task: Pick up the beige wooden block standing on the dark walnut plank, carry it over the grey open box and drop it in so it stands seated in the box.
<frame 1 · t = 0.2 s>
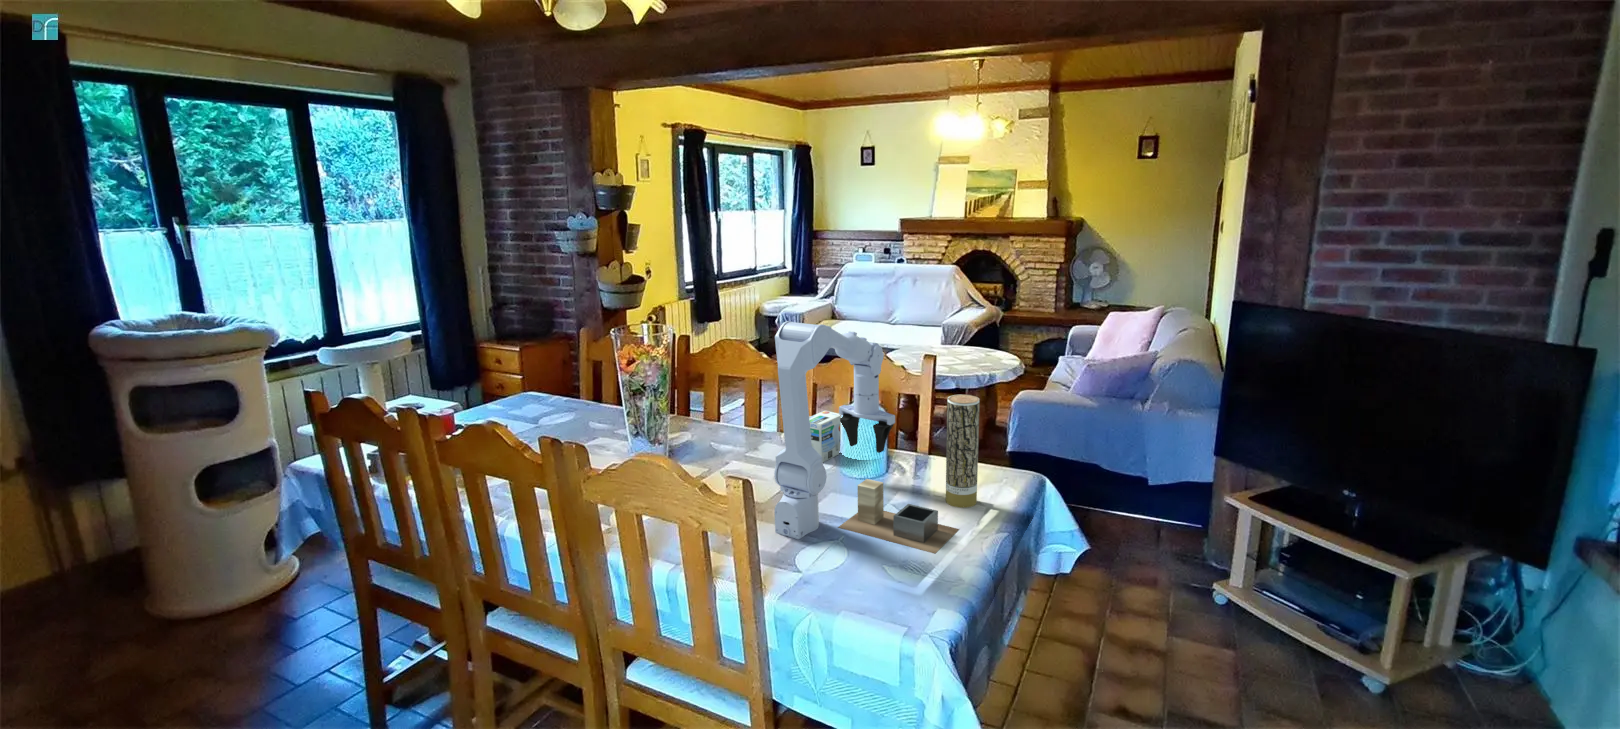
hand: (866, 448, 175), 10 cm above the table, tool pointing down, fingers open, 7 cm apart
light bulb box: (823, 455, 200), on the table
beige wooden block: (870, 518, 159), point 1 cm above the table, touching plank
plank: (898, 533, 154), on the table
grey open box: (915, 538, 152), resting on plank
paper tube: (960, 506, 166), on the table
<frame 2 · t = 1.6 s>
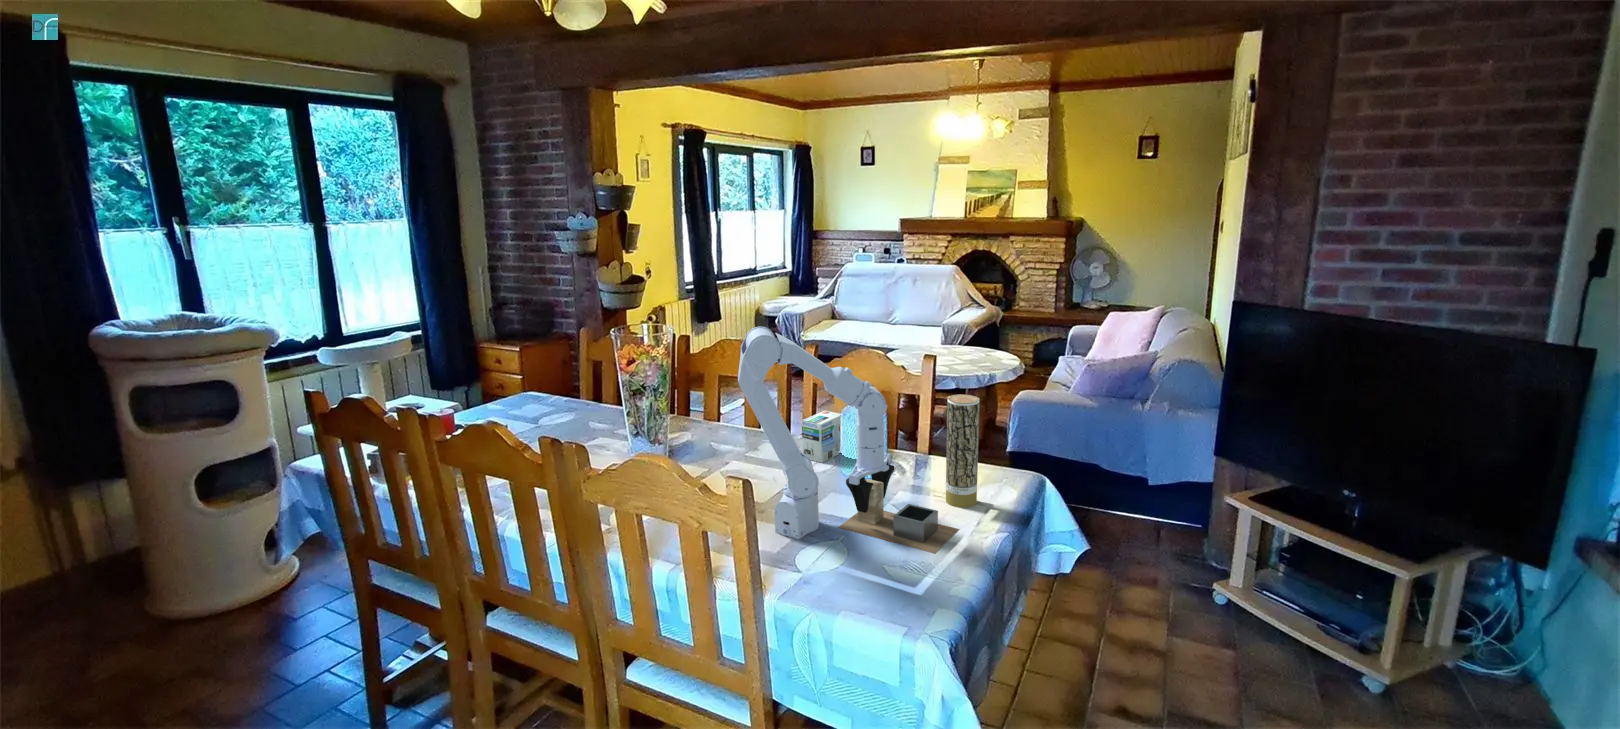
hand: (871, 504, 158), 5 cm above the table, tool pointing down, fingers open, 7 cm apart
nothing on the table moved.
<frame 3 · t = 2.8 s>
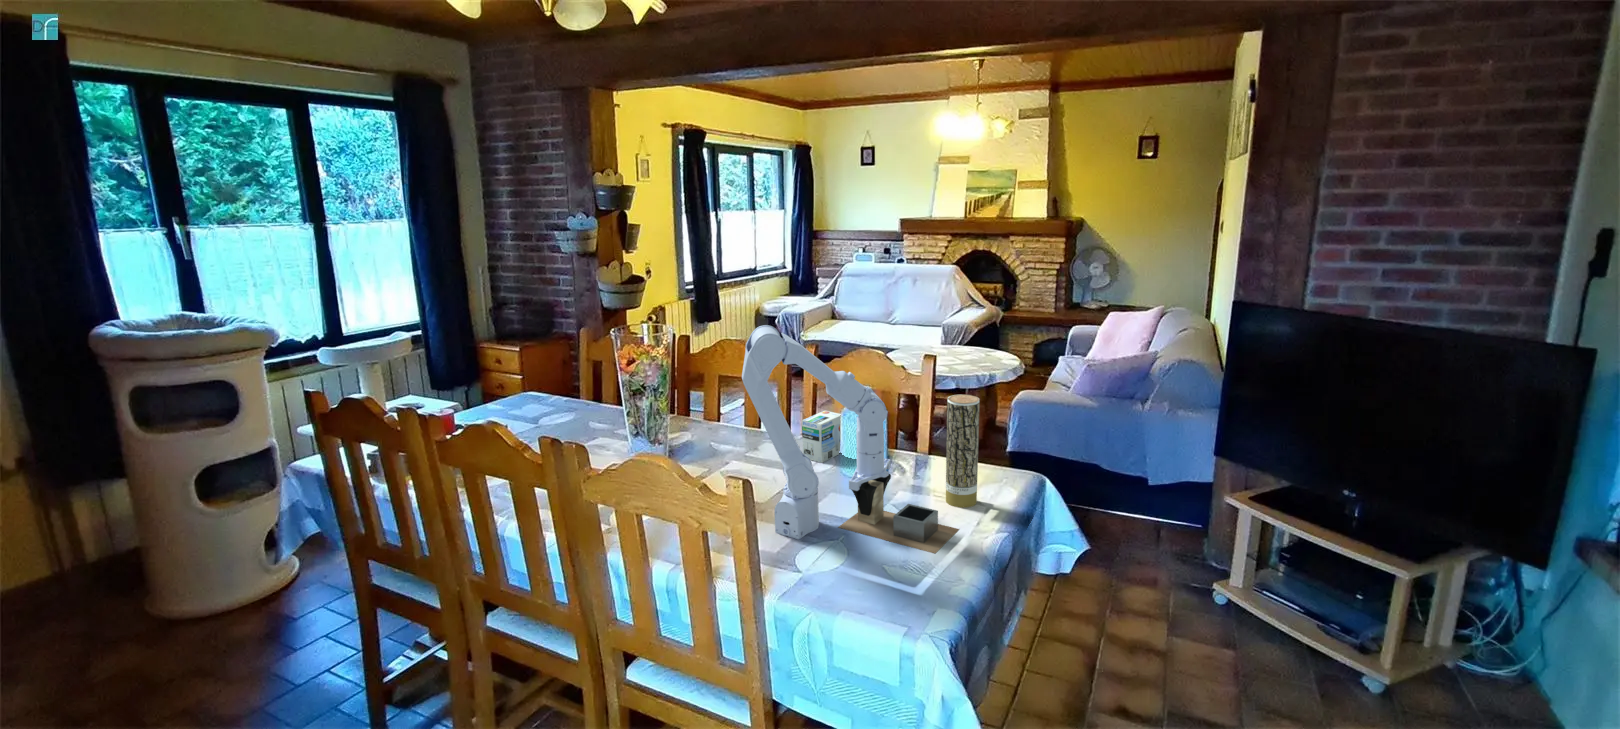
hand: (870, 510, 158), 3 cm above the table, tool pointing down, fingers closed on beige wooden block, 4 cm apart
beige wooden block: (870, 518, 159), point 1 cm above the table, touching gripper, plank
everything else where it was.
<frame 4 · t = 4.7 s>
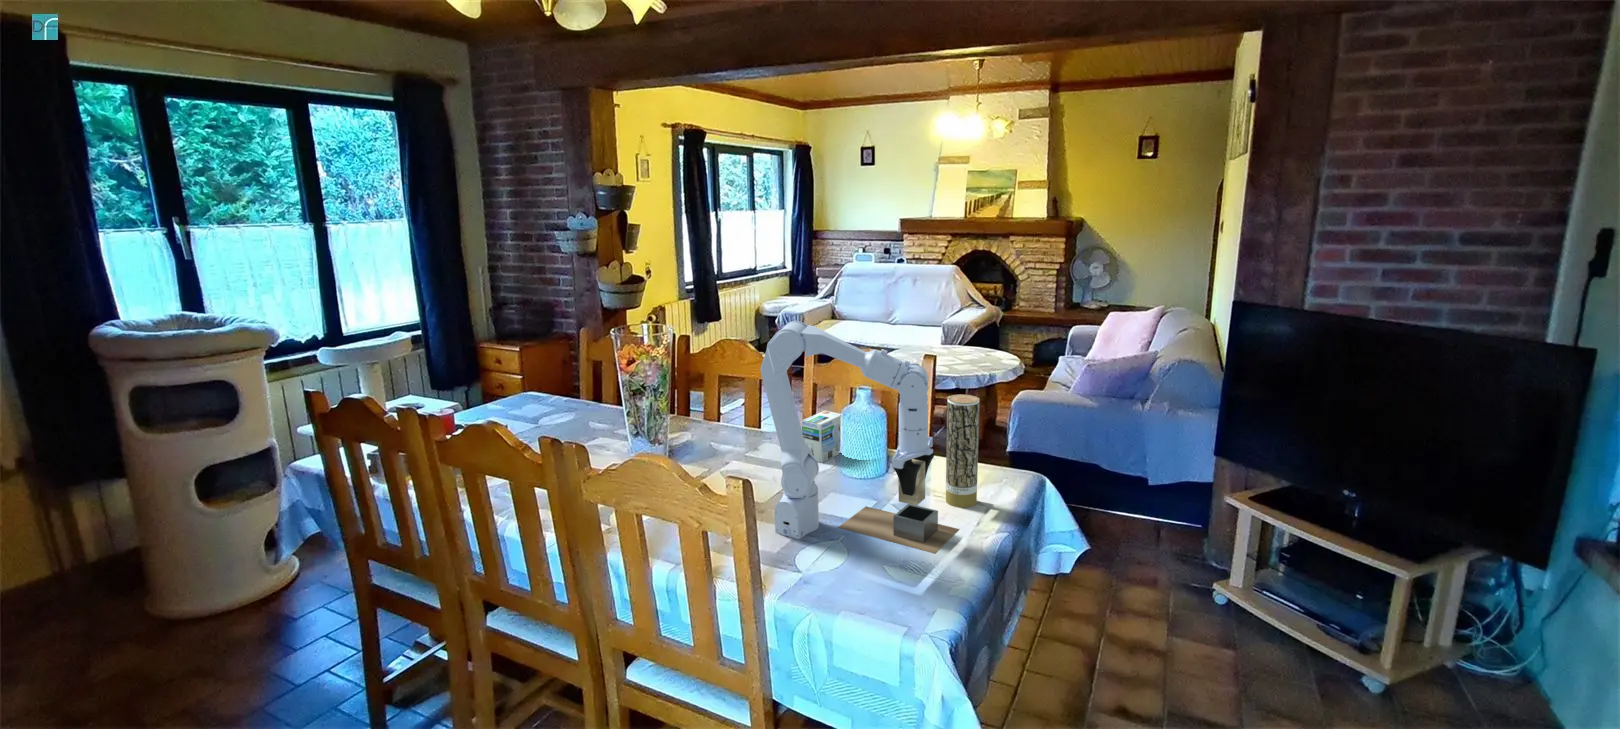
hand: (913, 490, 150), 10 cm above the table, tool pointing down, fingers closed on beige wooden block, 4 cm apart
beige wooden block: (911, 499, 151), point 8 cm above the table, touching gripper
everything else where it was.
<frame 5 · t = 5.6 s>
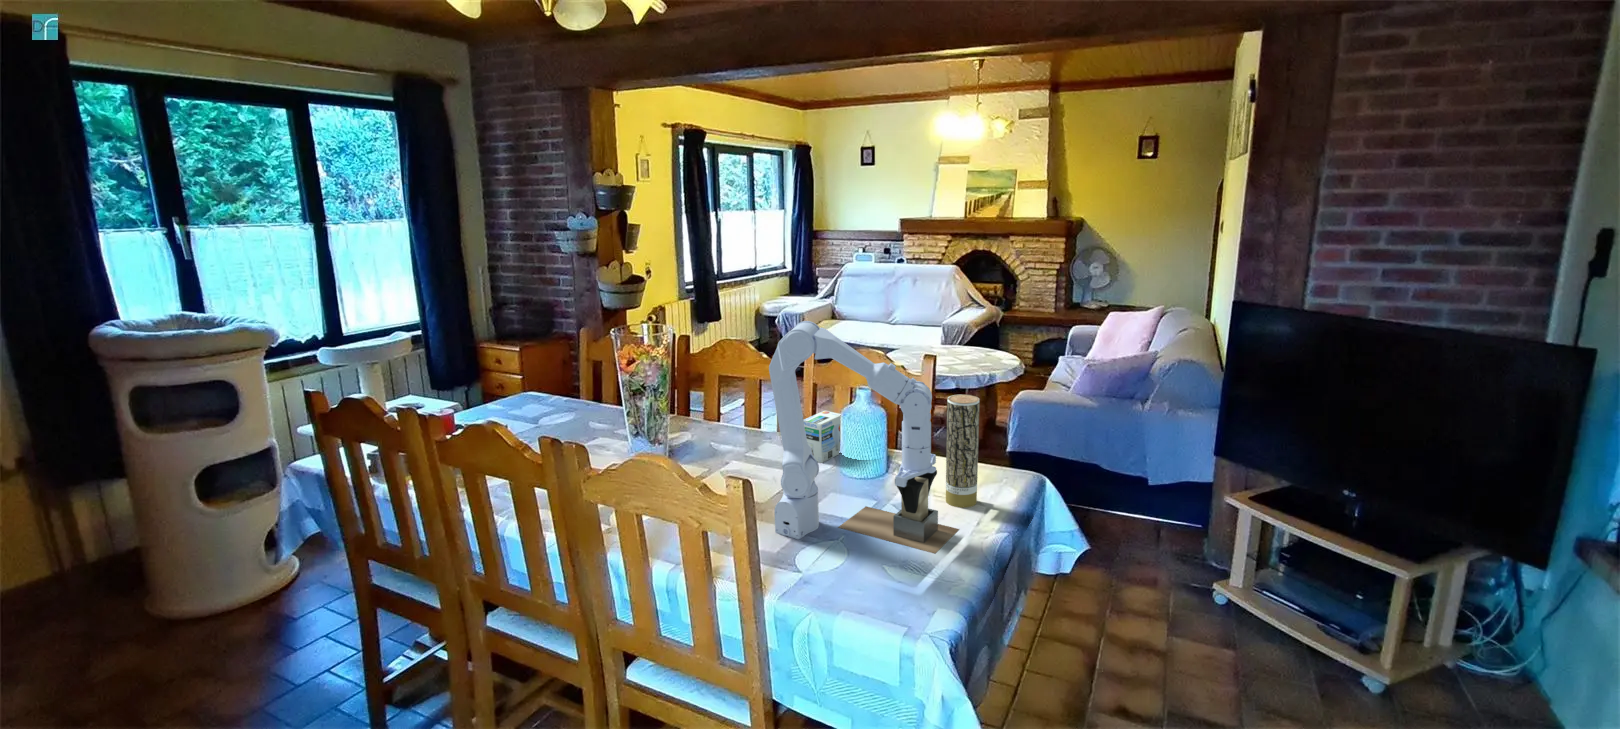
hand: (915, 507, 150), 7 cm above the table, tool pointing down, fingers closed on beige wooden block, 4 cm apart
beige wooden block: (914, 517, 151), point 5 cm above the table, touching gripper
everything else where it was.
when the fingers open (7 cm above the table, at t = 6.5 s): beige wooden block drops 2 cm, resting on grey open box.
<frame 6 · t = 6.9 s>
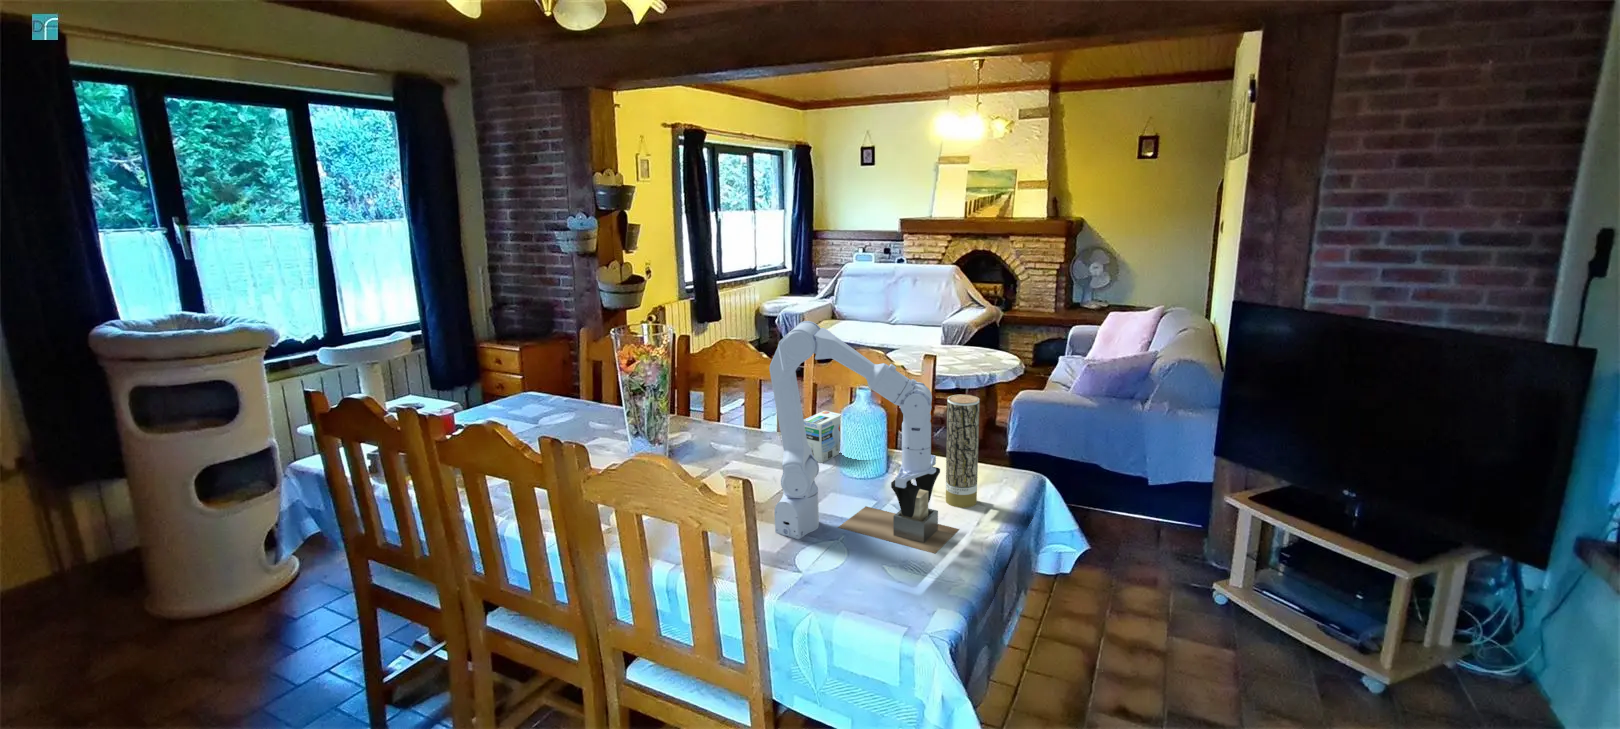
hand: (915, 508, 151), 7 cm above the table, tool pointing down, fingers open, 7 cm apart
beige wooden block: (914, 528, 152), point 2 cm above the table, touching grey open box
everything else where it was.
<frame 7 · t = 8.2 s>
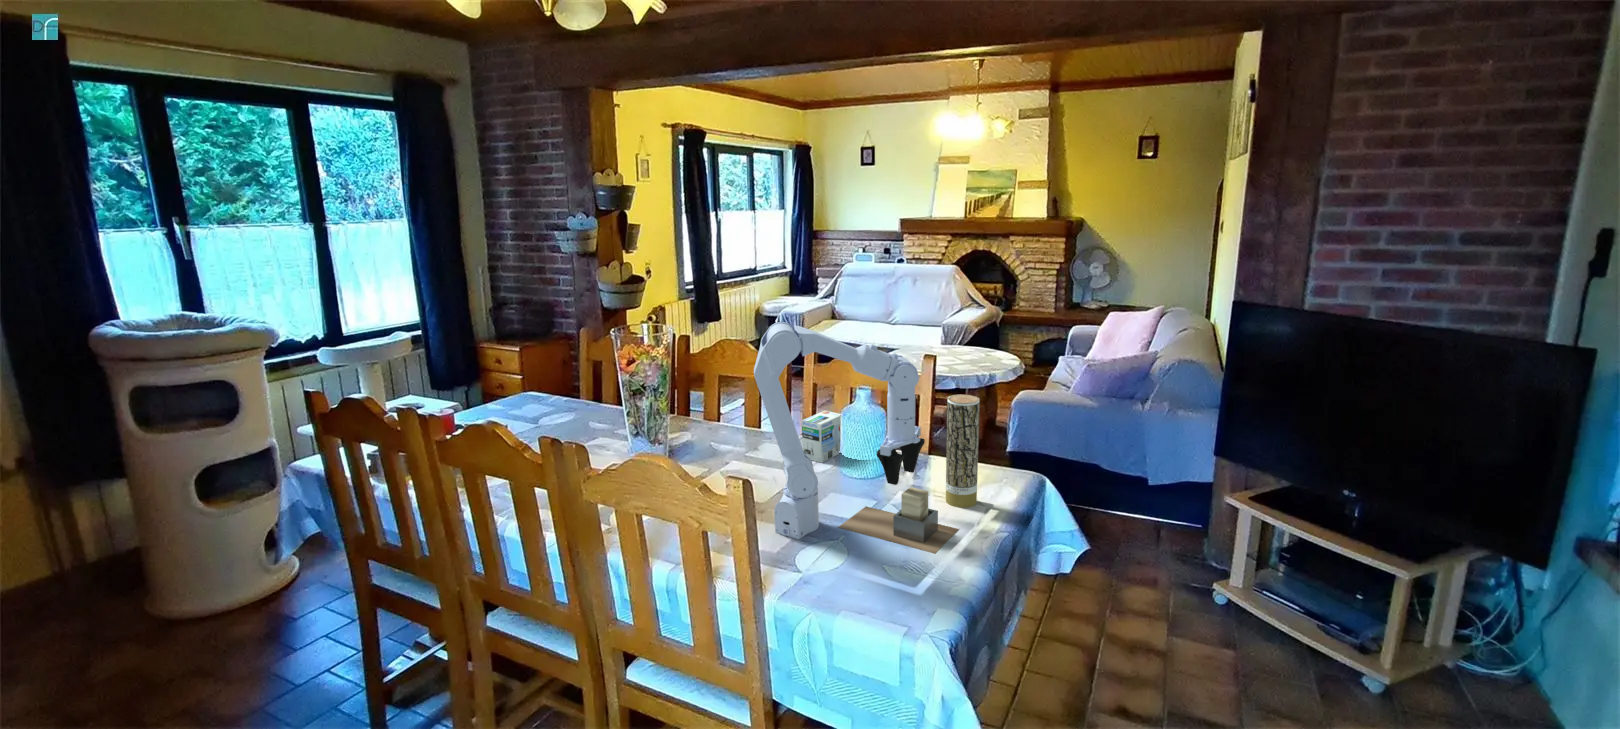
hand: (901, 477, 157), 10 cm above the table, tool pointing down, fingers open, 7 cm apart
nothing on the table moved.
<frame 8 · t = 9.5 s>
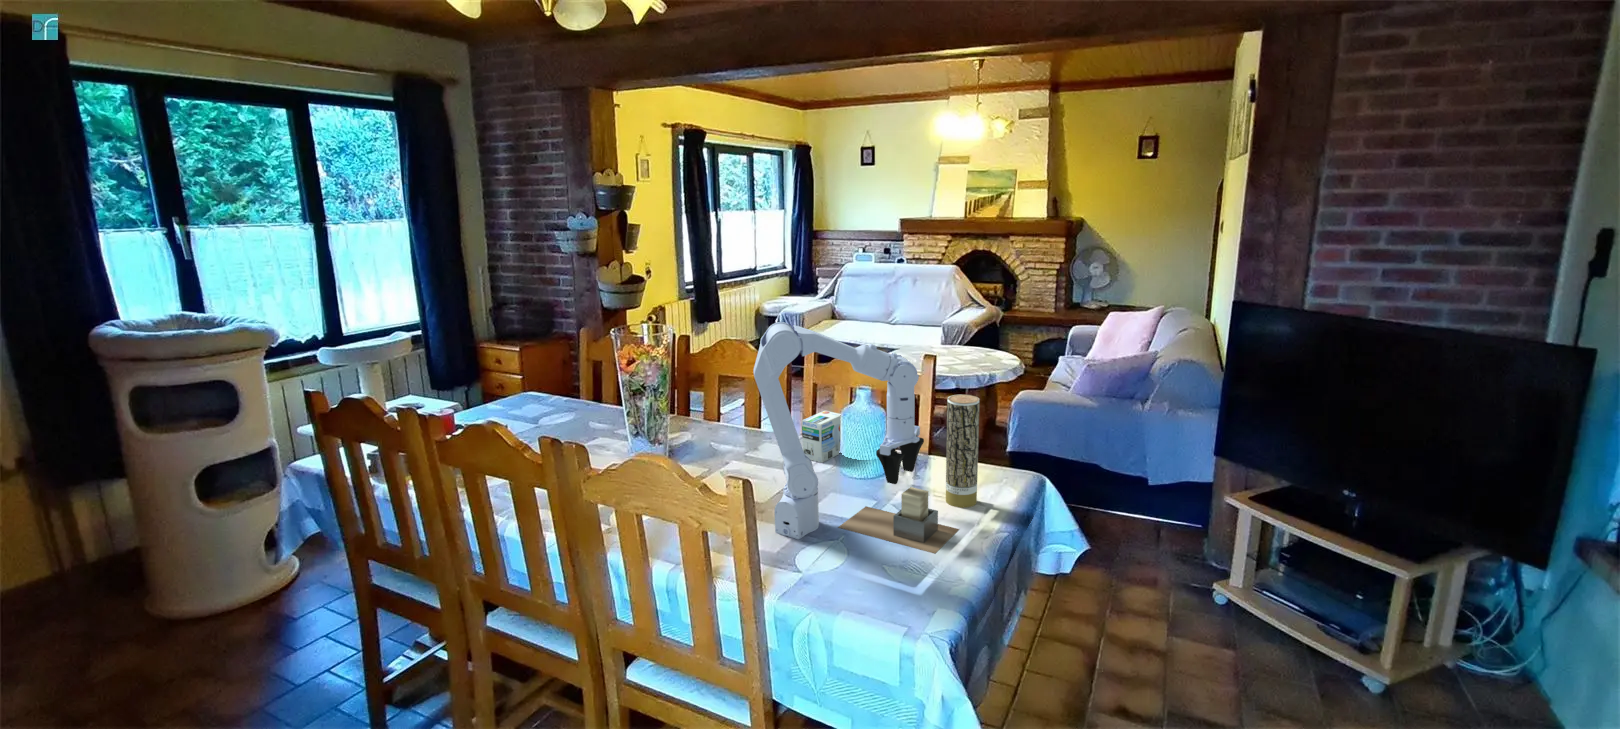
hand: (900, 476, 157), 10 cm above the table, tool pointing down, fingers open, 7 cm apart
nothing on the table moved.
at the end: beige wooden block 0.2 cm off-centre on the grey open box, point 2.0 cm above the grey open box's base; beige wooden block tilted 0°; the gripper is holding nothing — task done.
